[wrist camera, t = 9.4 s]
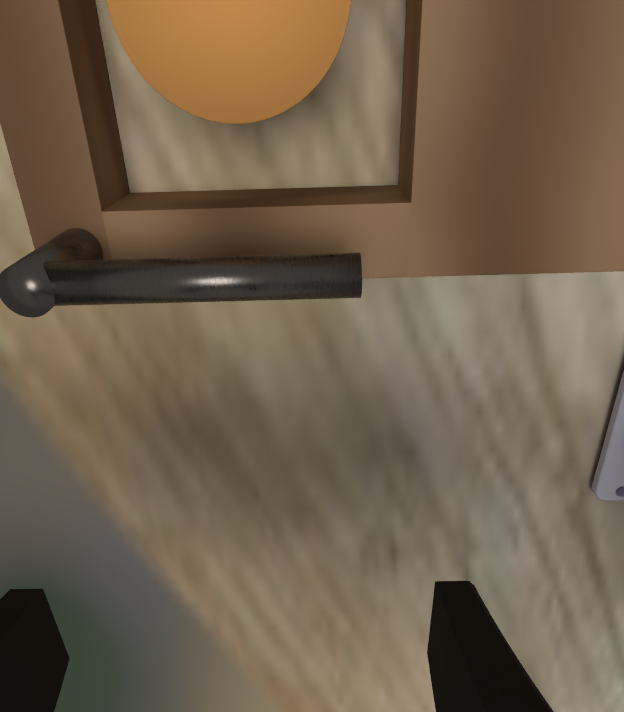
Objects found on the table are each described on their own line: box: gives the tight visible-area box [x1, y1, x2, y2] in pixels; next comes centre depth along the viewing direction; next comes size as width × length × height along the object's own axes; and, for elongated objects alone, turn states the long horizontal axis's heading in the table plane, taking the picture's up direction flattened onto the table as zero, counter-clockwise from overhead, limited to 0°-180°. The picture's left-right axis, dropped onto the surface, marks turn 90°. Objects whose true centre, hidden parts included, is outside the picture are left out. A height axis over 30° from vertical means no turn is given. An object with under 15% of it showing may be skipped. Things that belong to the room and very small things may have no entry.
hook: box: [0, 228, 362, 317], centre depth 14 cm, size 8×1×6 cm, turn 92°
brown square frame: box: [0, 0, 624, 278], centre depth 13 cm, size 16×12×2 cm
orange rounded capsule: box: [107, 0, 351, 124], centre depth 12 cm, size 4×4×5 cm
